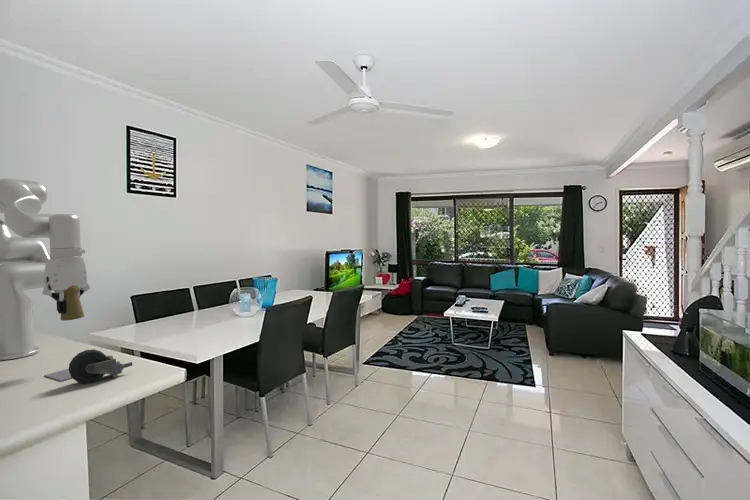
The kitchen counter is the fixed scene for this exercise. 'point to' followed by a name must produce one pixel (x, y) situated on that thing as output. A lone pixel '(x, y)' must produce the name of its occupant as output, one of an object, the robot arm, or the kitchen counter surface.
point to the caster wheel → (94, 366)
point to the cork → (72, 304)
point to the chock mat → (60, 375)
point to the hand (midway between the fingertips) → (67, 311)
